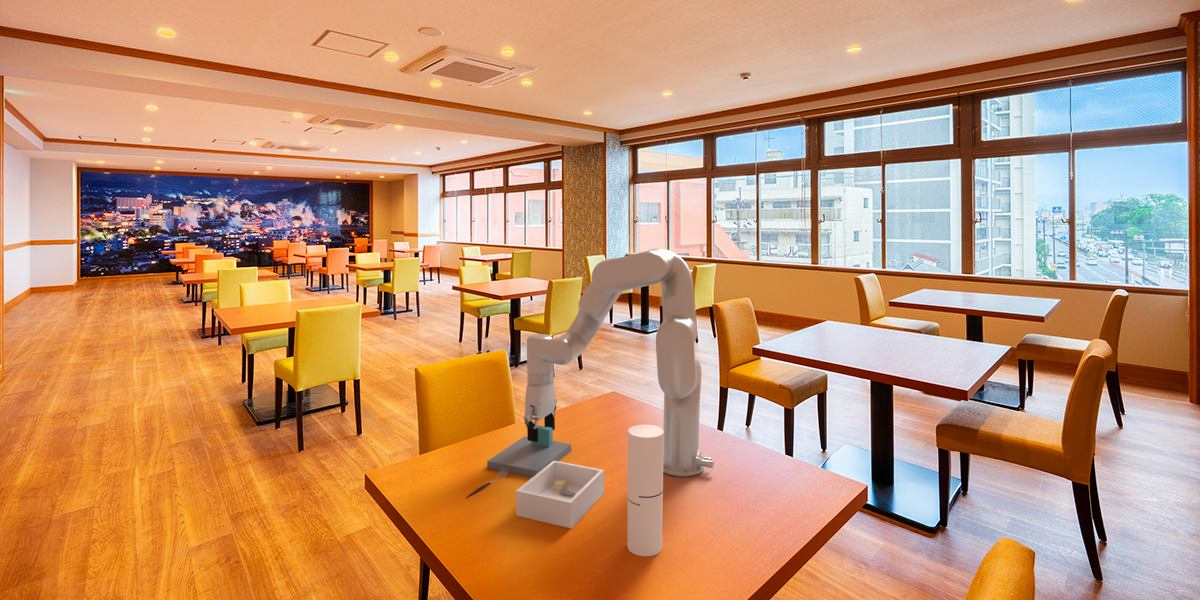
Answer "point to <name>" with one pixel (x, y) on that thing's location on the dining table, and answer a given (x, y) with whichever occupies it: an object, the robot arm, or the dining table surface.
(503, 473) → the fork
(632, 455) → the cylindrical container
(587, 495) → the tub
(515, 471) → the lid
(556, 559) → the dining table surface
